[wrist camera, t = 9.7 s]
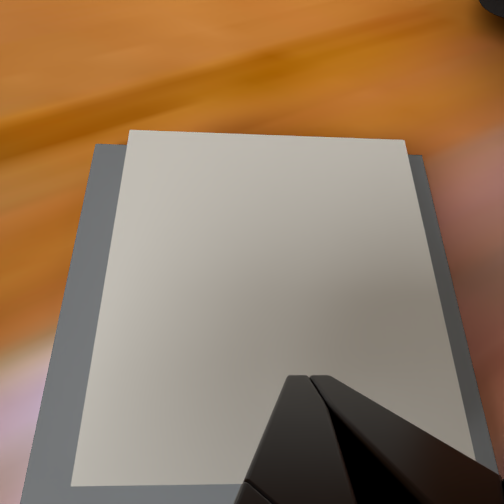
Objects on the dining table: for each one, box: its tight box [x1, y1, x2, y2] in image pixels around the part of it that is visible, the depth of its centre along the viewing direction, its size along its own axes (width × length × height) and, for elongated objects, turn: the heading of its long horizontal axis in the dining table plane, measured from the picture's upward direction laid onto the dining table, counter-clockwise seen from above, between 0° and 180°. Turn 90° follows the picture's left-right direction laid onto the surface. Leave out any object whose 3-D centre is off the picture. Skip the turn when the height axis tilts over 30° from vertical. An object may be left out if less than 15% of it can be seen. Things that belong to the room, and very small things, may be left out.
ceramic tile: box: [71, 130, 476, 486], centre depth 14 cm, size 3×11×12 cm
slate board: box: [20, 144, 499, 504], centre depth 16 cm, size 18×16×1 cm
